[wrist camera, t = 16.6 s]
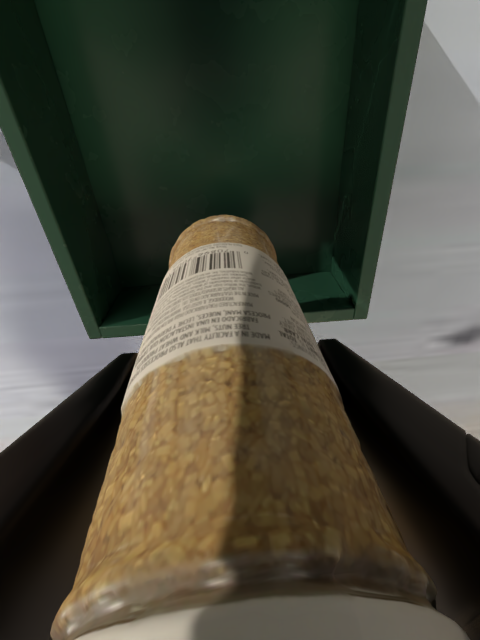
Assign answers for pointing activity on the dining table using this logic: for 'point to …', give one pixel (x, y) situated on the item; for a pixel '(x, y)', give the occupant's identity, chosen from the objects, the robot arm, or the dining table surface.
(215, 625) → the sprinkles bottle
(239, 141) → the caddy
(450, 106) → the dining table surface
